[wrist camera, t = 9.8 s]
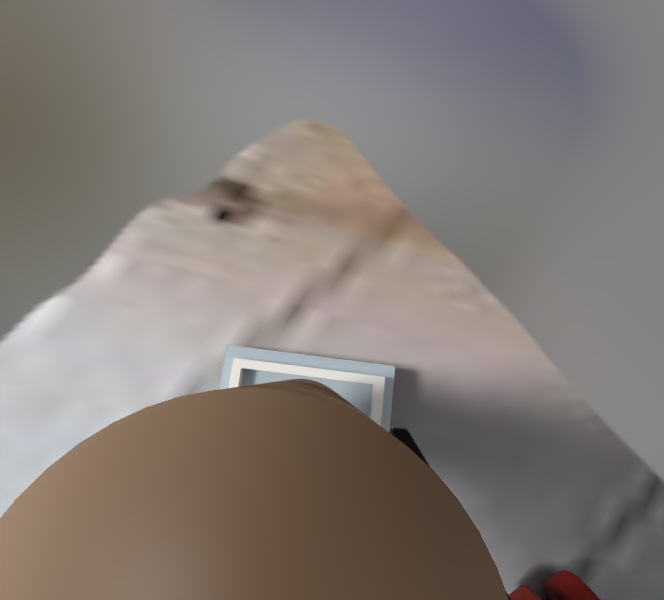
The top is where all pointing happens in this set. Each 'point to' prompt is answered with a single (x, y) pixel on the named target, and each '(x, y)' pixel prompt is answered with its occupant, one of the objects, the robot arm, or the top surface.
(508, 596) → the robot arm
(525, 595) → the toy fire truck
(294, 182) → the top surface
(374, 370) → the base plate
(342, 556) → the walnut pillar
